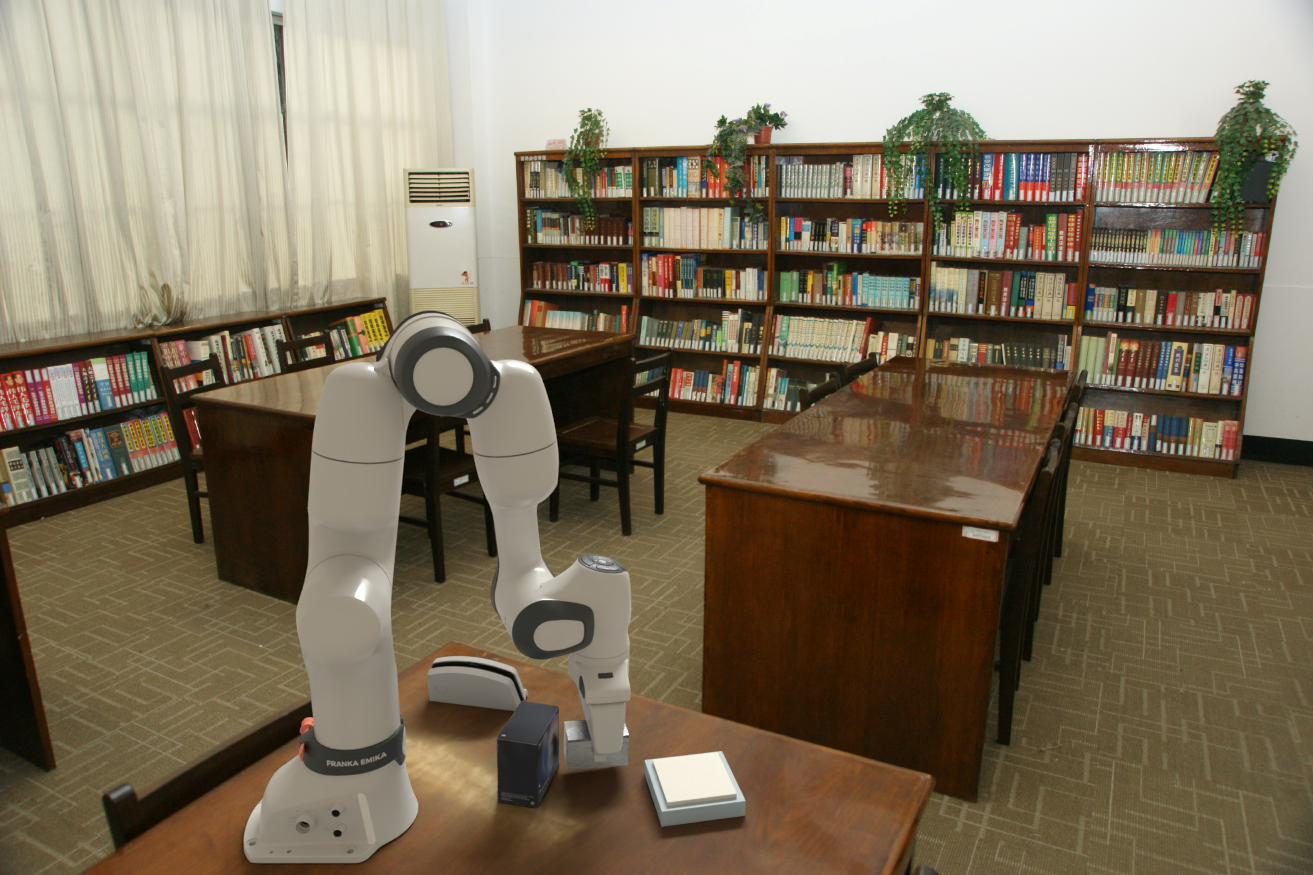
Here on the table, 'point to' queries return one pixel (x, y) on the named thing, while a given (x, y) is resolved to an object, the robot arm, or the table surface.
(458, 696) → the white slotted block
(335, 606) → the robot arm
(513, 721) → the small box
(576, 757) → the block
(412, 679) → the table surface
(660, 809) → the stand
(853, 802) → the table surface
